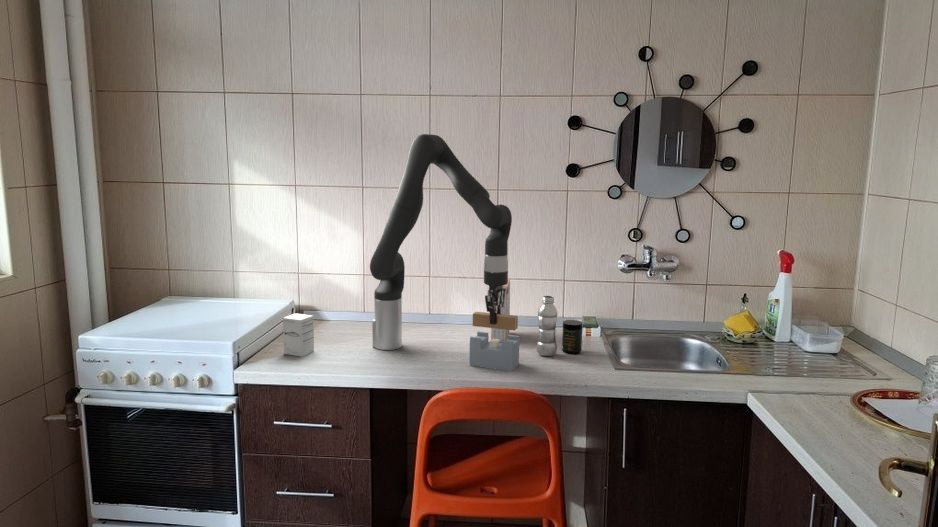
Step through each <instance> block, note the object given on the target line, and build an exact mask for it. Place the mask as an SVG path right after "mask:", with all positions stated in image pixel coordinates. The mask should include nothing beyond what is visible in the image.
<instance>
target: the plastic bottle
mask: <svg viewBox="0 0 938 527" xmlns="http://www.w3.org/2000/svg"><path fill="white" fill-rule="evenodd" d="M541 303H542V304H541V306H539V308H538V310H537V319H538V339H537V344H536V352H537V354H538V355H540V356H544V357H552V356H554V355H556V353H557V350H558V346H557V340H556V328H557V321H558V320H557V319H558V310H557V307H556V306H555V304H554V303H555V297H554V296H551V295H544V296H542V301H541Z"/></svg>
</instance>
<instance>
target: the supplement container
mask: <svg viewBox="0 0 938 527" xmlns="http://www.w3.org/2000/svg"><path fill="white" fill-rule="evenodd" d="M583 326H584V322H583V321H580V320H578V319H577V320H575V319H565V320H563V321H562V334H561V336H562V337H561V338H562V339H561V340H562V341H561V352H563V353H564V354H567V355H573V356H574V355H579V354H581V353H582V350H583V349H582V348H583V347H582V346H583V328H584V327H583Z"/></svg>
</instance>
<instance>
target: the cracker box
mask: <svg viewBox="0 0 938 527" xmlns="http://www.w3.org/2000/svg"><path fill="white" fill-rule="evenodd" d="M503 288H505V289H506V291H505V298H504V306H503V307H502V309H501V314H505V315H511V314H510V313H511V312H510V311H511V309H510V308H511V306H510V305H511V301H510V300H511V278H509V277H508V283H507V284H506V285H503ZM490 330H491V331H490V333H491V334H490V340H492V339H500V343H502V340H505V341H507V340H508V335H510V330H505V329H496V328H490Z"/></svg>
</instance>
